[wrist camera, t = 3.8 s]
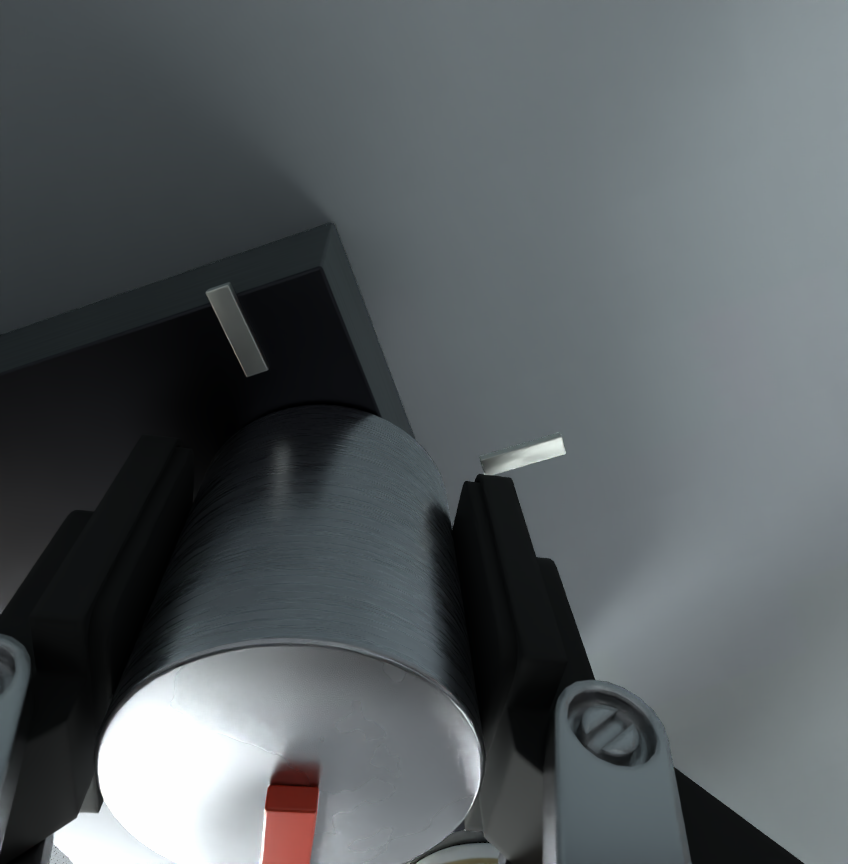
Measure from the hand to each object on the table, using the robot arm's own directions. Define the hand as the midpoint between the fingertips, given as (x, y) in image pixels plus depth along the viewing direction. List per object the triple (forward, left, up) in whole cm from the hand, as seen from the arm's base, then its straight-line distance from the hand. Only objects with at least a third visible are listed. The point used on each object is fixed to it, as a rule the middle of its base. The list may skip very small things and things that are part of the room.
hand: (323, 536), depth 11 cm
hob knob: (0, 0, -1) cm, 1 cm away
